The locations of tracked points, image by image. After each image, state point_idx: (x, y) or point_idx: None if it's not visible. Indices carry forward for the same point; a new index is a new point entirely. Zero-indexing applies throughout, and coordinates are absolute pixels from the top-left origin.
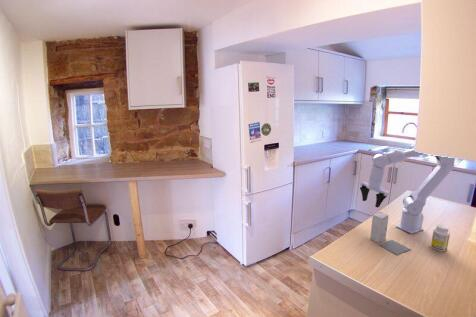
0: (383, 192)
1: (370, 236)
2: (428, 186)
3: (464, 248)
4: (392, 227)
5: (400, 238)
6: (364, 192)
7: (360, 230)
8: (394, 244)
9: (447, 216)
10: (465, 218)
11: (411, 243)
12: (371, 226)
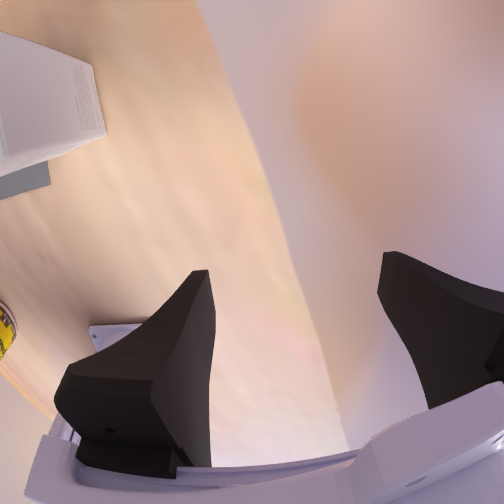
0: (66, 491)
1: (83, 61)
2: None
3: (13, 377)
4: (165, 300)
5: (58, 243)
6: (453, 315)
7: (197, 76)
8: None
9: None
10: None
11: (21, 253)
12: (52, 49)
